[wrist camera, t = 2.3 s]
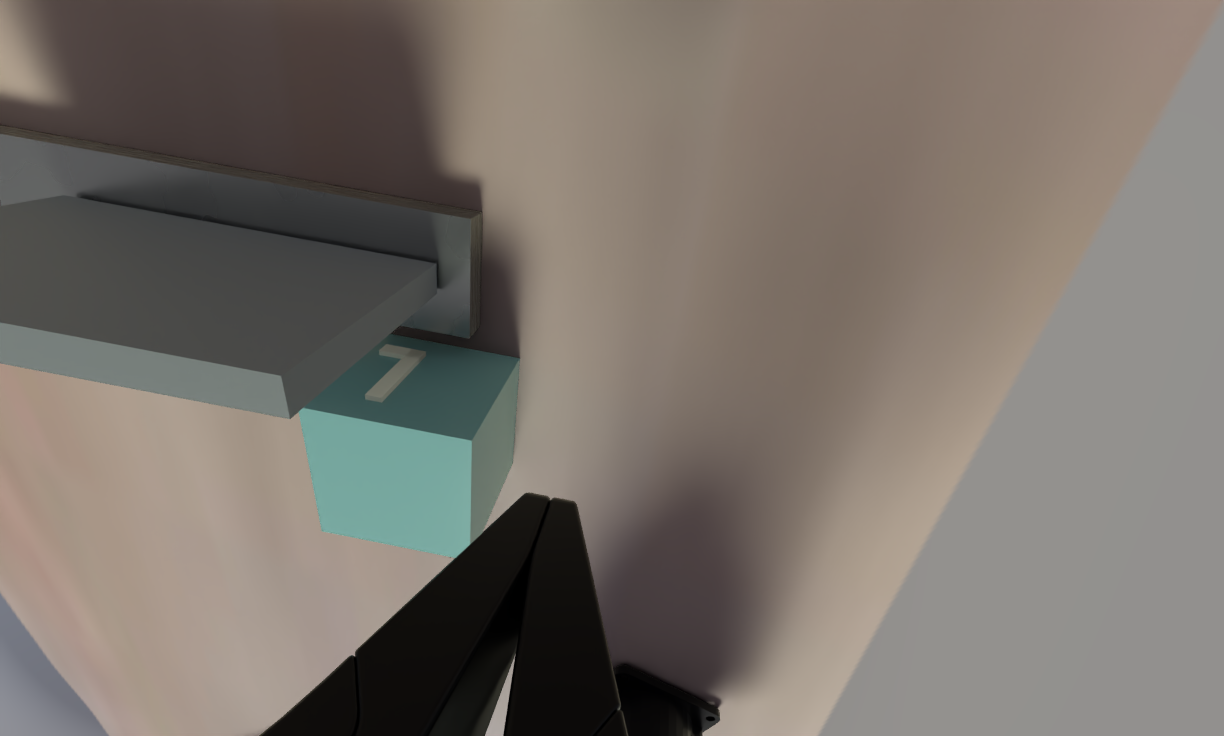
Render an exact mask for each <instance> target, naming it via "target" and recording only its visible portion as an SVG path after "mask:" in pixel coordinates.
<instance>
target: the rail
mask: <svg viewBox="0 0 1224 736" xmlns="http://www.w3.org/2000/svg"><path fill="white" fill-rule="evenodd" d="M61 195H66V196H71V197H76V198H82V199H87V200H93V201H98V202H104V203H109V204H115V205H120V206H125V207H131V208H136V209H142V210H147V211H153V212H158V213H164V214H169V215H174V216H180V217H185V218H191V219H196V220H202V221H207V222H213V223H218V224H223V225H229V226H234V227H240V228H245V229H251V230H256V231H262V232H267V233H272V234H278V235H283V236H289V237H294V238H300V239H305V240H311V241H316V242H321V243H327V244H332V245H338V246H343V247H349V248H354V249H360V250H365V251H370V252H376V253H381V254H387V255H392V256H398V257H403V258H409V259H414V260H420V261H425V262H430V263H436V275H437V294H436V295H435V296H434V297H433V298H431V299H430V300H429V301H428V302H427V303H426V304H424V305H423V306H422V307H421V308H420V309H418V310H417V311H416V312H415V313H414V314H413V315H411V316H410V317H409V318H408V319H407V320H406V321H404V322H403V323H402V324H401V325H400V326H405V327H410V328H415V329H421V330H426V331H431V332H437V333H442V334H447V335H453V336H458V337H463V338H469V339H470V338H471V336H472V335H473V334H474V333H475V332H476V330H477V329H478V328H479V327H480V288H481V240H482V212H479V211H474V210H468V209H463V208H457V207H452V206H446V205H441V204H435V203H430V202H424V201H418V200H413V199H407V198H402V197H396V196H391V195H385V194H380V193H374V192H369V191H363V190H358V189H352V188H347V187H341V186H336V185H330V184H324V183H319V182H313V181H308V180H302V179H297V178H291V177H286V176H280V175H275V174H269V173H264V172H258V171H253V170H247V169H241V168H236V167H230V166H225V165H219V164H214V163H208V162H203V161H197V160H192V159H186V158H181V157H175V156H170V155H164V154H159V153H153V152H147V151H142V150H136V149H131V148H125V147H120V146H114V145H109V144H103V143H98V142H92V141H87V140H81V139H76V138H70V137H64V136H59V135H53V134H48V133H42V132H37V131H31V130H26V129H20V128H15V127H9V126H4V125H0V206H3V205H9V204H15V203H21V202H26V201H32V200H38V199H44V198H50V197H56V196H61Z"/></svg>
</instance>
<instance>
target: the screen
mask: <svg viewBox="0 0 1224 736" xmlns="http://www.w3.org/2000/svg"><path fill="white" fill-rule="evenodd" d="M436 294H437V275H436V263H430V262H425V261H420V260H414V259H409V258H403V257H398V256H392V255H387V254H381V253H376V252H370V251H365V250H360V249H354V248H349V247H343V246H338V245H332V244H327V243H321V242H316V241H311V240H305V239H300V238H294V237H289V236H283V235H278V234H272V233H267V232H262V231H256V230H251V229H245V228H240V227H234V226H229V225H223V224H218V223H213V222H207V221H202V220H196V219H191V218H185V217H180V216H174V215H169V214H164V213H158V212H153V211H147V210H142V209H136V208H131V207H125V206H120V205H115V204H109V203H104V202H98V201H93V200H87V199H82V198H76V197H71V196H66V195H61V196H56V197H50V198H44V199H38V200H32V201H26V202H21V203H15V204H9V205H3V206H0V363H1V364H6V365H12V366H17V367H22V368H27V369H32V370H38V371H43V372H48V373H53V374H58V375H64V376H69V377H74V378H79V379H84V380H90V381H95V382H100V383H105V384H110V385H116V386H121V387H126V388H131V389H136V390H142V391H147V392H152V393H157V394H162V395H168V396H173V397H178V398H183V399H188V400H194V401H199V402H204V403H209V404H214V405H220V406H225V407H230V408H235V409H240V410H246V411H251V412H256V413H261V414H266V415H272V416H277V417H282V418H287V419H291V418H292V417H293V416H294V415H295V414H297V413H298V412H299V411H300V410H301V409H302V408H304V407H305V406H306V405H307V404H308V403H309V402H311V401H312V400H313V399H314V398H315V397H316V396H318V395H319V394H320V393H321V392H322V391H324V390H325V389H326V388H327V387H328V386H329V385H331V384H332V383H333V382H334V381H335V380H336V379H338V378H339V377H340V376H341V375H342V374H343V373H345V372H346V371H347V370H348V369H349V368H350V367H352V366H353V365H354V364H355V363H356V362H358V361H359V360H360V359H361V358H362V357H363V356H365V355H366V354H367V353H368V352H369V351H370V350H372V349H373V348H374V347H375V346H376V345H377V344H379V343H380V342H381V341H382V340H383V339H384V338H386V337H387V336H388V335H389V334H390V333H392V332H393V331H394V330H395V329H396V328H397V327H399V326H400V325H401V324H402V323H403V322H404V321H406V320H407V319H408V318H409V317H410V316H411V315H413V314H414V313H415V312H416V311H417V310H418V309H420V308H421V307H422V306H423V305H424V304H426V303H427V302H428V301H429V300H430V299H431V298H433V297H434V296H435V295H436Z"/></svg>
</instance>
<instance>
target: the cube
mask: <svg viewBox="0 0 1224 736" xmlns="http://www.w3.org/2000/svg"><path fill="white" fill-rule="evenodd" d="M519 366H520V358H516V357H510V356H505V355H500V354H494V353H489V352H484V351H478V350H473V349H468V348H463V347H457V346H452V345H447V344H441V343H436V342H431V341H426V340H420V339H415V338H410V337H404V336H399V335H394V334H389V335H388V336H387V337H386V338H384V339H383V340H382V341H381V342H380V343H379V344H377V345H376V346H375V347H374V348H373V349H372V350H370V351H369V352H368V353H367V354H366V355H365V356H363V357H362V358H361V359H360V360H359V361H358V362H356V363H355V364H354V365H353V366H352V367H350V368H349V369H348V370H347V371H346V372H345V373H343V374H342V375H341V376H340V377H339V378H338V379H336V380H335V381H334V382H333V383H332V384H331V385H329V386H328V387H327V388H326V389H325V390H324V391H322V392H321V393H320V394H319V395H318V396H316V397H315V398H314V399H313V400H312V401H311V402H309V403H308V404H307V405H306V406H305V407H304V408H302V409H301V410H300V411H299V416H300V421H301V426H302V431H303V436H304V442H305V447H306V452H307V457H308V462H309V467H310V473H311V478H312V483H313V488H314V493H315V498H316V504H317V509H318V514H319V519H320V524H321V529H322V531H324V532H329V533H334V534H339V535H344V536H349V537H354V538H359V539H364V540H369V541H374V542H379V543H384V544H389V545H394V546H399V547H404V548H409V549H414V550H418V551H423V552H428V553H433V554H438V555H443V556H448V557H453V558H456V557H457V556H458V555H459V554H460V553H461V552H462V551H463V550H464V549H466V548H467V547H468V546H469V545H470V544H471V543H472V542H473V541H474V540H475V539H476V538H477V537H478V536H480V535H481V534H482V532H483V530H484V528H485V525H486V523H487V521H488V518H489V516H490V514H491V512H492V509H493V507H494V505H495V503H496V500H497V498H498V496H499V493H500V491H501V489H502V487H503V484H504V482H505V480H506V478H507V475H508V473H509V471H510V468H511V466H512V464H513V452H514V438H515V423H516V409H517V394H518V380H519Z"/></svg>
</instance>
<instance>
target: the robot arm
mask: <svg viewBox="0 0 1224 736" xmlns="http://www.w3.org/2000/svg"><path fill="white" fill-rule="evenodd" d="M515 653H516V655H515ZM514 656H515V662H514V669H513V675H512V682H511V689H510V695H509V702H508V709H507V715H506V722H505V729H504V735H503V736H703V735H702V732H704V731H705V730H707V729H709V728H710V727H712V726H713V725H715V724H716V723H718V722H719V721H720V713H719V709H718V708H716V707H714V706H712V705H710V704H708V703H706V702H704V701H702V700H700V699H698V698H695V697H693V696H691V695H689V694H687V693H685V692H683V691H681V690H678V689H676V688H674V687H672V686H670V685H668V684H666V683H664V682H661V681H659V680H657V679H655V678H653V677H651V676H649V675H647V674H644V673H642V672H640V671H638V670H636V669H634V668H632V667H630V666H627V665H620V666H617V667H616V668H615V669H614V670H613V667H612V662H611V657H610V653H609V648H608V644H607V639H606V635H605V630H604V626H603V621H602V616H601V612H600V607H599V603H598V598H597V594H596V589H595V585H594V580H593V576H592V571H591V566H590V562H589V557H588V553H587V548H586V544H585V539H584V535H583V530H582V526H581V521H580V516H579V512H578V507H577V504H576V503H575V502H574V501H570V500H565V499H560V498H553V499H552V500H551V501H550V498H549V497H548V496H544V495H539V494H534V493H525V494H524V495H523V496H521V497H520V498H519V499H518V500H517V501H516V502H515V503H514V504H513V505H512V506H511V507H510V508H509V509H507V510H506V511H505V512H504V513H503V514H502V515H501V516H500V517H499V518H498V519H497V520H496V521H495V522H494V523H492V524H491V525H490V526H489V527H488V528H487V529H486V530H485V531H484V532H483V533H482V534H481V535H480V536H478V537H477V538H476V539H475V540H474V541H473V542H472V543H471V544H470V545H469V546H468V547H467V548H466V549H464V550H463V551H462V552H461V553H460V554H459V555H458V556H457V557H456V558H455V559H454V560H453V561H452V562H451V563H449V564H448V565H447V566H446V567H445V568H444V569H443V570H442V571H441V572H440V573H439V574H438V575H437V576H435V577H434V578H433V579H432V580H431V581H430V582H429V583H428V584H427V585H426V586H425V587H424V588H423V589H421V590H420V591H419V592H418V593H417V594H416V595H415V596H414V597H413V598H412V599H411V600H410V601H409V602H407V603H406V604H405V605H404V606H403V607H402V608H401V609H400V610H399V611H398V612H397V613H396V614H395V615H394V616H392V617H391V618H390V619H389V620H388V621H387V622H386V623H385V624H384V625H383V626H382V627H381V628H380V629H378V630H377V631H376V632H375V633H374V634H373V635H372V636H371V637H370V638H369V639H368V640H367V641H366V642H364V643H363V644H362V645H361V646H360V647H359V648H358V649H357V650H356V652H355V656H353V655H351V656H349V657H348V658H347V659H346V660H345V661H344V662H343V663H341V664H340V665H339V666H338V667H337V668H336V669H335V670H334V671H333V672H332V673H331V674H330V675H329V676H328V677H327V678H325V679H324V680H323V681H322V682H321V683H320V684H319V685H318V686H317V687H315V688H314V689H313V690H312V691H311V692H310V693H309V694H308V695H306V696H305V697H304V698H303V699H302V700H301V701H300V702H299V703H297V704H296V705H295V706H294V707H293V708H292V709H291V710H290V711H288V712H287V713H286V714H285V715H284V716H283V717H282V718H280V719H279V720H278V721H277V722H275V723H274V724H273V725H272V726H271V727H269V728H268V729H267V730H266V731H264V732H263V733H262V734H261V735H259V736H485V734H486V731H487V728H488V726H489V723H490V720H491V718H492V715H493V712H494V709H495V707H496V704H497V701H498V699H499V696H500V693H501V691H502V688H503V685H504V683H505V680H506V677H507V675H508V672H509V669H510V667H511V664H512V661H513V659H514Z"/></svg>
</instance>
